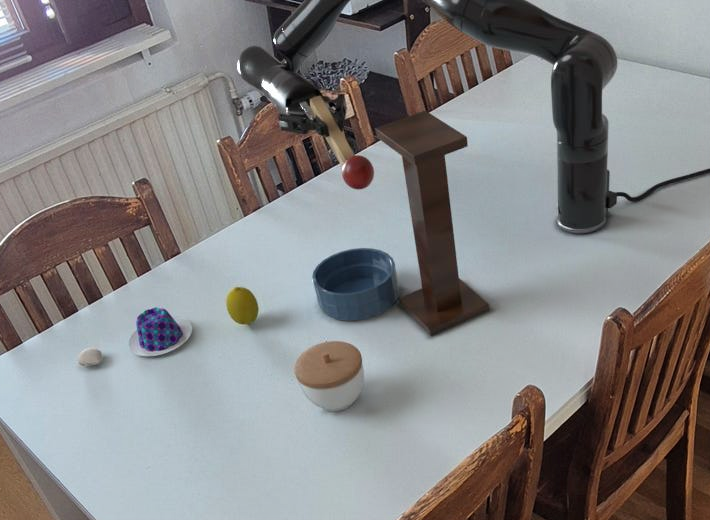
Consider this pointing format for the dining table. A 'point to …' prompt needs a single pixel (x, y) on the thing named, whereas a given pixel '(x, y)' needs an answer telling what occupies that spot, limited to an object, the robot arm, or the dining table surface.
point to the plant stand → (432, 221)
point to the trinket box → (330, 374)
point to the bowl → (356, 283)
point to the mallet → (344, 150)
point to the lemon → (242, 305)
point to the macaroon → (90, 357)
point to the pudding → (158, 333)
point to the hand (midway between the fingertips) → (333, 128)
